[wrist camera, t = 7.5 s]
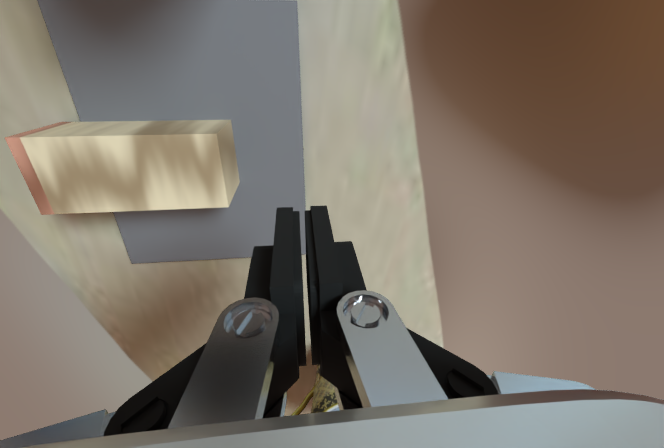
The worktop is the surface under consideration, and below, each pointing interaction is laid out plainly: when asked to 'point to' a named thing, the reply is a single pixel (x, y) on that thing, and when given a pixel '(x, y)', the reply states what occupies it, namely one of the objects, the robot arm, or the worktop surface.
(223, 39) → the rubber mat
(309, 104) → the worktop surface
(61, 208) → the maple block
